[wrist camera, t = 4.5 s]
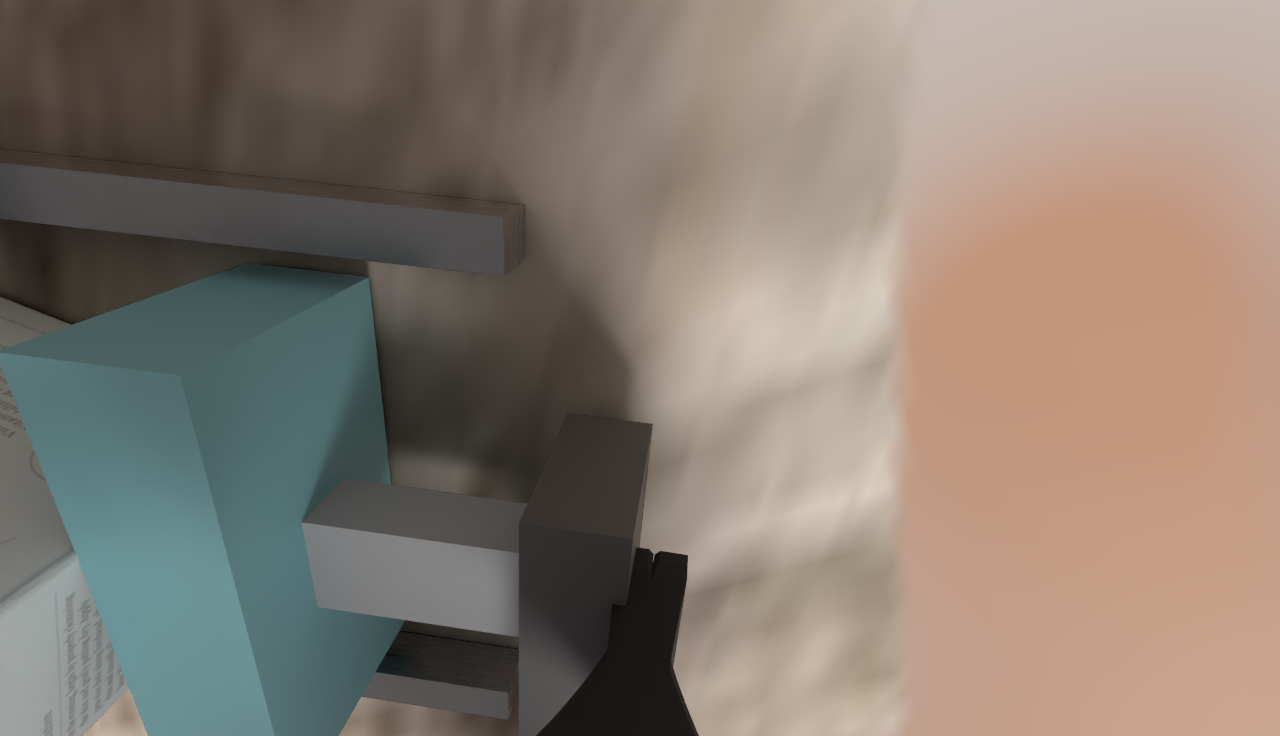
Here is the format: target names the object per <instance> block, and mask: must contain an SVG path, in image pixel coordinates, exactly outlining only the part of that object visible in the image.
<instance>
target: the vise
mask: <svg viewBox="0 0 1280 736" xmlns="http://www.w3.org/2000/svg"><path fill="white" fill-rule="evenodd" d="M524 210H525V205H521V204H511V203H502V202H492V201H483V200H474V199H464V198H455V197H445V196H436V195H427V194H417V193H408V192H398V191H389V190H380V189H370V188H361V187H352V186H342V185H333V184H323V183H314V182H305V181H295V180H286V179H276V178H267V177H258V176H248V175H239V174H229V173H220V172H211V171H201V170H192V169H183V168H173V167H164V166H154V165H145V164H136V163H126V162H117V161H107V160H98V159H89V158H79V157H70V156H60V155H51V154H42V153H32V152H23V151H13V150H4V149H0V219H6V220H15V221H23V222H32V223H41V224H50V225H58V226H67V227H76V228H85V229H94V230H102V231H111V232H120V233H129V234H137V235H146V236H155V237H164V238H173V239H181V240H190V241H199V242H208V243H216V244H225V245H234V246H243V247H252V248H260V249H269V250H278V251H287V252H295V253H304V254H313V255H322V256H331V257H339V258H348V259H357V260H366V261H374V262H383V263H392V264H401V265H410V266H418V267H427V268H436V269H445V270H453V271H462V272H471V273H480V274H489V275H497V276H505V275H506V274H507V273H508V272H509V271H510V270H512V269H513V268H514V267H515V266H516V265H517V264H519V263H520V262H521V261H522V260H523V259H524ZM518 688H519V649H513V648H506V647H500V646H493V645H486V644H480V643H473V642H467V641H460V640H453V639H447V638H440V637H433V636H427V635H420V634H414V633H407V632H400V631H399V632H398V634H397V636H396V637H395V639H394V641H393V642H392V644H391V646H390V648H389V649H388V651H387V653H386V654H385V656H384V658H383V660H382V661H381V663H380V665H379V667H378V668H377V670H376V672H375V673H374V675H373V677H372V679H371V680H370V682H369V684H368V685H367V687H366V689H365V691H364V692H363V694H362V697H368V698H374V699H380V700H387V701H393V702H399V703H406V704H412V705H418V706H425V707H431V708H437V709H444V710H450V711H456V712H462V713H469V714H475V715H481V716H488V717H494V718H500V719H507V720H508V719H509V716H510V713H511V710H512V707H513V704H514V701H515V698H516V695H517V692H518Z"/></svg>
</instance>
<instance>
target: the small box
mask: <svg viewBox="0 0 1280 736" xmlns="http://www.w3.org/2000/svg"><path fill="white" fill-rule="evenodd" d="M70 325H71V324H68V323H65V322H63V321H60V320H58V319H55V318H53V317H50V316H48V315H45V314H43V313H40V312H38V311H35V310H33V309H30V308H27V307H25V306H22V305H20V304H17V303H15V302H12V301H10V300H7V299H5V298H2V297H0V350H2V349H5V348H8V347H11V346H13V345H16V344H19V343H22V342H25V341H28V340H30V339H33V338H36V337H39V336H42V335H45V334H47V333H50V332H53V331H56V330H59V329H62V328H64V327H67V326H70ZM128 688H129V686H128V684H127V681H126V679H125V676H124V674H123V671H122V669H121V666H120V664H119V661H118V659H117V656H116V654H115V651H114V649H113V646H112V644H111V641H110V639H109V636H108V634H107V631H106V629H105V626H104V624H103V621H102V619H101V616H100V614H99V611H98V609H97V606H96V604H95V601H94V599H93V596H92V594H91V591H90V589H89V586H88V584H87V581H86V578H85V576H84V573H83V571H82V568H81V566H80V563H79V559H78V556H77V554H76V553H75V551H74V548H73V546H72V543H71V541H70V538H69V536H68V533H67V531H66V528H65V526H64V523H63V521H62V518H61V516H60V513H59V511H58V508H57V506H56V503H55V501H54V498H53V496H52V493H51V491H50V488H49V486H48V483H47V481H46V478H45V476H44V473H43V471H42V468H41V466H40V463H39V461H38V458H37V456H36V453H35V451H34V448H33V446H32V443H31V441H30V438H29V436H28V433H27V431H26V428H25V426H24V423H23V421H22V418H21V416H20V413H19V410H18V408H17V405H16V403H15V400H14V398H13V395H12V393H11V390H10V388H9V385H8V383H7V380H6V378H5V375H4V373H3V370H2V368H1V365H0V736H83V735H84V734H85V733H86V732H87V731H88V730H89V728H90V727H91V726H92V725H93V724H94V723H95V722H96V721H97V720H98V719H99V718H100V717H101V716H102V715H103V714H104V713H105V712H106V711H107V710H108V709H109V708H110V707H111V706H112V705H113V704H114V703H115V702H116V701H117V700H118V699H119V698H120V697H121V696H122V695H123V694H124V693H125V691H126V690H127V689H128Z"/></svg>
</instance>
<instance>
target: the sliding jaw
mask: <svg viewBox="0 0 1280 736" xmlns="http://www.w3.org/2000/svg"><path fill="white" fill-rule="evenodd" d="M0 365H1V368H2V370H3V373H4V375H5V378H6V380H7V383H8V385H9V388H10V390H11V393H12V395H13V398H14V400H15V403H16V405H17V408H18V410H19V413H20V416H21V418H22V421H23V423H24V426H25V428H26V431H27V433H28V436H29V438H30V441H31V443H32V446H33V448H34V451H35V453H36V456H37V458H38V461H39V463H40V466H41V468H42V471H43V473H44V476H45V478H46V481H47V483H48V486H49V488H50V491H51V493H52V496H53V498H54V501H55V503H56V506H57V508H58V511H59V513H60V516H61V518H62V521H63V523H64V526H65V528H66V531H67V533H68V536H69V538H70V541H71V543H72V546H73V548H74V551H75V553H76V554H77V556H78V559H79V563H80V566H81V568H82V571H83V573H84V576H85V578H86V581H87V584H88V586H89V589H90V591H91V594H92V596H93V599H94V601H95V604H96V606H97V609H98V611H99V614H100V616H101V619H102V621H103V624H104V626H105V629H106V631H107V634H108V636H109V639H110V641H111V644H112V646H113V649H114V651H115V654H116V656H117V659H118V661H119V664H120V666H121V669H122V671H123V674H124V676H125V679H126V681H127V684H128V686H129V689H130V691H131V694H132V696H133V699H134V701H135V704H136V706H137V709H138V711H139V714H140V716H141V719H142V721H143V724H144V726H145V729H146V731H147V734H148V736H338V735H339V734H340V732H341V730H342V728H343V727H344V725H345V723H346V722H347V720H348V718H349V716H350V715H351V713H352V711H353V709H354V708H355V706H356V704H357V703H358V701H359V699H360V697H361V696H362V694H363V692H364V691H365V689H366V687H367V685H368V684H369V682H370V680H371V679H372V677H373V675H374V673H375V672H376V670H377V668H378V667H379V665H380V663H381V661H382V660H383V658H384V656H385V654H386V653H387V651H388V649H389V648H390V646H391V644H392V642H393V641H394V639H395V637H396V636H397V634H398V632H399V630H400V629H401V627H402V625H403V624H404V622H405V620H408V621H414V622H421V623H428V624H434V625H441V626H448V627H454V628H461V629H468V630H474V631H481V632H487V633H494V634H501V635H507V636H514V637H519V736H536V735H537V734H538V733H539V732H540V731H541V730H542V729H543V728H544V727H545V726H546V725H547V724H548V723H549V722H550V721H551V720H552V719H553V718H554V716H555V715H556V714H557V713H558V712H559V711H560V710H561V709H562V707H563V706H564V705H565V704H566V703H567V702H568V700H569V699H570V698H571V697H572V696H573V694H574V693H575V692H576V691H577V690H578V689H579V687H580V686H581V685H582V684H583V682H584V681H585V680H586V678H587V677H588V676H589V675H590V673H591V672H592V671H593V669H594V668H595V667H596V665H597V664H598V662H599V661H600V660H601V658H602V657H603V655H604V654H605V653H606V651H607V647H608V640H609V630H610V620H611V610H612V604H614V605H620V606H626V604H627V598H628V592H629V586H630V581H631V575H632V569H633V564H634V558H635V553H636V548H639V545H640V536H641V526H642V517H643V508H644V499H645V490H646V480H647V471H648V462H649V453H650V444H651V434H652V425H653V424H648V423H640V422H632V421H624V420H617V419H609V418H601V417H593V416H585V415H577V414H569V413H568V414H567V417H566V419H565V421H564V423H563V426H562V428H561V430H560V432H559V435H558V437H557V439H556V441H555V443H554V446H553V448H552V450H551V452H550V455H549V457H548V459H547V461H546V464H545V466H544V468H543V470H542V473H541V475H540V477H539V479H538V482H537V484H536V486H535V488H534V490H533V493H532V495H531V497H530V499H529V502H528V503H521V502H513V501H506V500H499V499H491V498H484V497H477V496H469V495H462V494H455V493H447V492H440V491H433V490H425V489H418V488H411V487H403V486H396V485H391V479H390V469H389V460H388V451H387V441H386V432H385V423H384V414H383V404H382V395H381V386H380V376H379V367H378V358H377V349H376V339H375V330H374V321H373V311H372V302H371V293H370V284H369V277H364V276H355V275H347V274H338V273H329V272H321V271H312V270H303V269H295V268H286V267H277V266H269V265H260V264H251V263H245V264H242V265H240V266H237V267H234V268H231V269H228V270H225V271H223V272H220V273H217V274H214V275H211V276H209V277H206V278H203V279H200V280H197V281H194V282H192V283H189V284H186V285H183V286H180V287H177V288H175V289H172V290H169V291H166V292H163V293H160V294H158V295H155V296H152V297H149V298H146V299H143V300H141V301H138V302H135V303H132V304H129V305H127V306H124V307H121V308H118V309H115V310H112V311H110V312H107V313H104V314H101V315H98V316H95V317H93V318H90V319H87V320H84V321H81V322H78V323H76V324H73V325H70V326H67V327H64V328H62V329H59V330H56V331H53V332H50V333H47V334H45V335H42V336H39V337H36V338H33V339H30V340H28V341H25V342H22V343H19V344H16V345H13V346H11V347H8V348H5V349H2V350H0Z"/></svg>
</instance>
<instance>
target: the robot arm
mask: <svg viewBox="0 0 1280 736" xmlns="http://www.w3.org/2000/svg"><path fill="white" fill-rule="evenodd" d="M687 564H688V555H683V554H676V553H670V552H663V551H660V552H658V553H657V554H655V557H654V562H653V553H652V552H651V551H650V550H649V549H644V548H636V553H635V558H634V564H633V569H632V575H631V581H630V586H629V592H628V598H627V604H626V606H620V605H614V604H612V610H611V620H610V630H609V640H608V647H607V651H606V653H605V654H604V655H603V657H602V658H601V660H600V661H599V662H598V664H597V665H596V667H595V668H594V669H593V671H592V672H591V673H590V675H589V676H588V677H587V678H586V680H585V681H584V682H583V684H582V685H581V686H580V687H579V689H578V690H577V691H576V692H575V693H574V694H573V696H572V697H571V698H570V699H569V700H568V702H567V703H566V704H565V705H564V706H563V707H562V709H561V710H560V711H559V712H558V713H557V714H556V715H555V716H554V718H553V719H552V720H551V721H550V722H549V723H548V724H547V725H546V726H545V727H544V728H543V729H542V730H541V731H540V732H539V733H538V734H537V735H536V736H699V735H698V733H697V731H696V728H695V726H694V723H693V721H692V719H691V716H690V714H689V711H688V709H687V706H686V704H685V701H684V698H683V695H682V693H681V690H680V687H679V685H678V682H677V679H676V676H675V673H674V669H673V664H674V657H675V651H676V645H677V638H678V632H679V626H680V620H681V613H682V607H683V601H684V594H685V588H686V582H687Z"/></svg>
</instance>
